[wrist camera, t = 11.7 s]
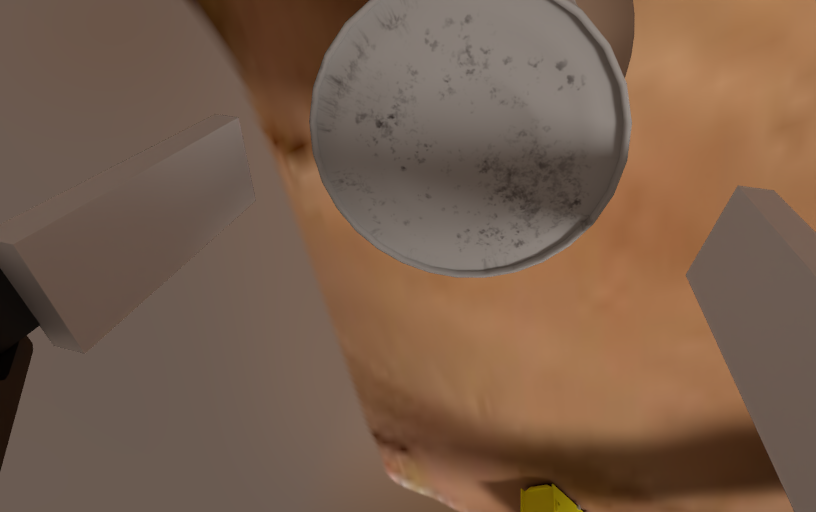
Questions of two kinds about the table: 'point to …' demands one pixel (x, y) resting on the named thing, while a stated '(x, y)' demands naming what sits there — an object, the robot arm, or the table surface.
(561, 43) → the speckled grey cylinder
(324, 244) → the table surface
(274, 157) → the table surface
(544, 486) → the yellow toy chassis
